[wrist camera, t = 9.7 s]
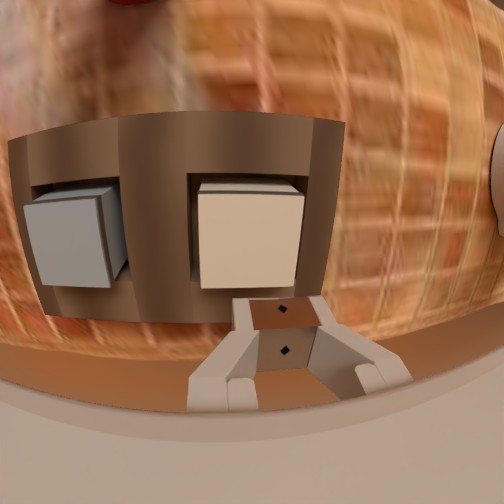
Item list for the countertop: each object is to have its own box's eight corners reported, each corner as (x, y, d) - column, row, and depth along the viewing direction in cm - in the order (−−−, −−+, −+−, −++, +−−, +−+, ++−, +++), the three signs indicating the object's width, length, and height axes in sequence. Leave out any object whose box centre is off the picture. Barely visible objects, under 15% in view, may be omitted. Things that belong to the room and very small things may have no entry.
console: (317, 121, 19) (345, 122, 14) (298, 284, 25) (315, 318, 20) (44, 134, 16) (7, 140, 12) (67, 283, 22) (45, 314, 18)
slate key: (124, 179, 17) (95, 198, 13) (131, 252, 19) (110, 288, 15) (60, 185, 16) (22, 205, 12) (71, 252, 19) (42, 285, 14)
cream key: (283, 178, 19) (305, 196, 14) (277, 250, 21) (294, 287, 16) (202, 176, 18) (197, 194, 13) (203, 251, 20) (200, 288, 16)
